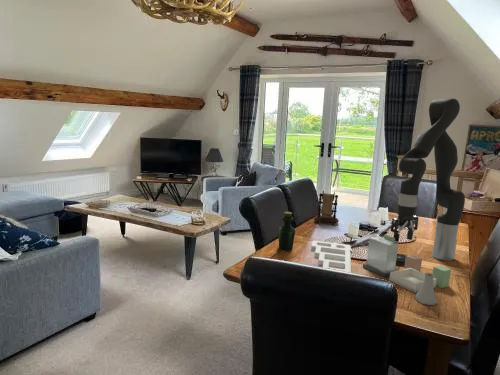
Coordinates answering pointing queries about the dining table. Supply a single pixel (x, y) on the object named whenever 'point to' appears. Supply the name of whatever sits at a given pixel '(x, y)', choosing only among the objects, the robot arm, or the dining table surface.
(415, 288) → the tray
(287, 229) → the potion bottle
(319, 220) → the scroll
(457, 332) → the dining table surface
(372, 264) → the block
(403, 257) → the disk drive
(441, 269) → the sage block
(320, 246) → the holder
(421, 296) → the flask
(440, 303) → the dining table surface
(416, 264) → the terracotta block
